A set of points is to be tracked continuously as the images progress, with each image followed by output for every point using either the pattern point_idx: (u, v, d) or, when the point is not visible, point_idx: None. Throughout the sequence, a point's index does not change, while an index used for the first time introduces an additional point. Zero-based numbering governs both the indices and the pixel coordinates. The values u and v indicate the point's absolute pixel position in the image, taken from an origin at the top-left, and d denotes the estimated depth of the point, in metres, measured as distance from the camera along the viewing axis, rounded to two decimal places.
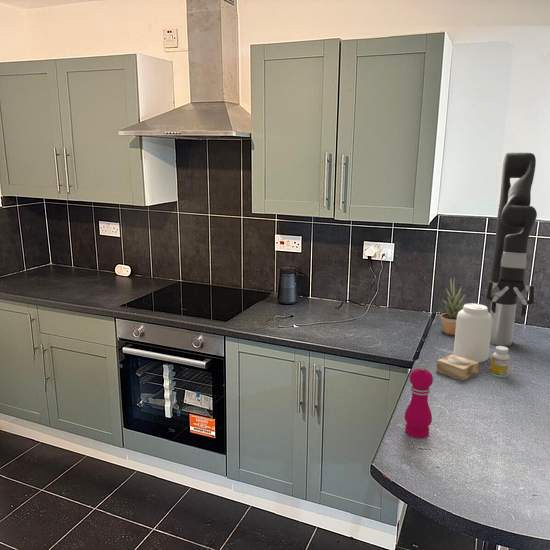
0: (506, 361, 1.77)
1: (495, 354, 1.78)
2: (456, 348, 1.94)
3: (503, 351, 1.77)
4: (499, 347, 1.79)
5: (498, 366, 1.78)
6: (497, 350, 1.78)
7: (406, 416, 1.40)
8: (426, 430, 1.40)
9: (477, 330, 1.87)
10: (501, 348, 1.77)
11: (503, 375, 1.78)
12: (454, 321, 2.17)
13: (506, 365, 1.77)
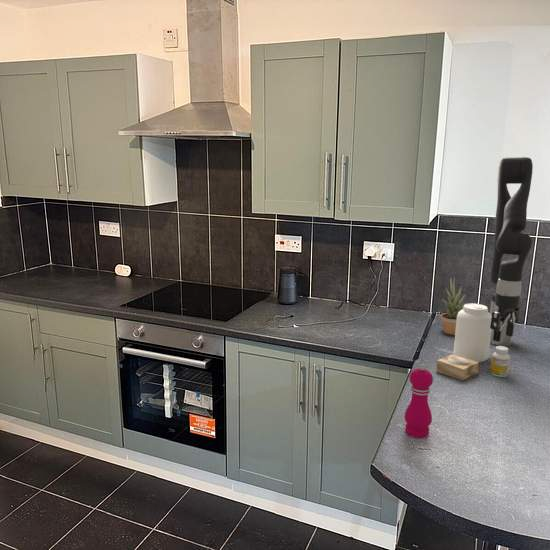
0: (506, 361, 1.77)
1: (495, 354, 1.78)
2: (456, 348, 1.94)
3: (503, 351, 1.77)
4: (499, 347, 1.79)
5: (498, 366, 1.78)
6: (497, 350, 1.78)
7: (406, 416, 1.40)
8: (426, 430, 1.40)
9: (477, 330, 1.87)
10: (501, 348, 1.77)
11: (503, 375, 1.78)
12: (454, 321, 2.17)
13: (506, 365, 1.77)
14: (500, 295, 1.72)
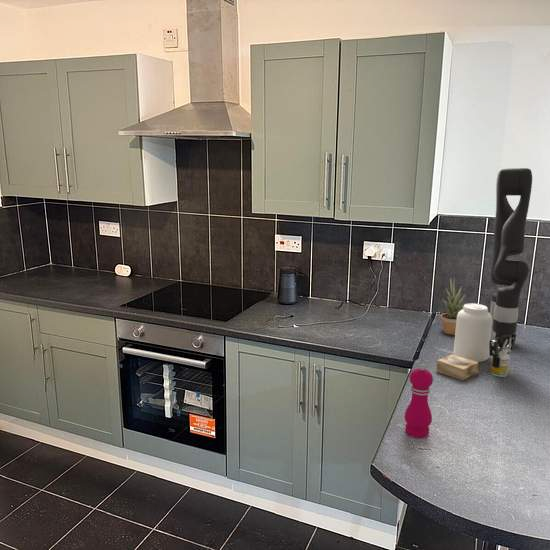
0: (506, 361, 1.77)
1: None
2: (456, 348, 1.94)
3: (503, 351, 1.77)
4: (499, 347, 1.79)
5: None
6: None
7: (406, 416, 1.40)
8: (426, 430, 1.40)
9: (477, 330, 1.87)
10: None
11: (503, 375, 1.78)
12: (454, 321, 2.17)
13: (506, 365, 1.77)
14: (497, 321, 1.74)
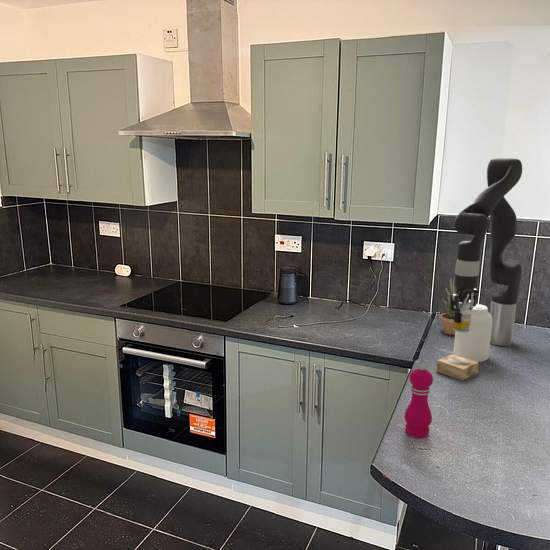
0: (468, 316, 1.75)
1: None
2: (456, 348, 1.94)
3: (465, 306, 1.74)
4: None
5: None
6: None
7: (406, 416, 1.40)
8: (426, 430, 1.40)
9: (477, 330, 1.87)
10: None
11: (465, 330, 1.76)
12: None
13: (468, 320, 1.75)
14: (458, 275, 1.72)
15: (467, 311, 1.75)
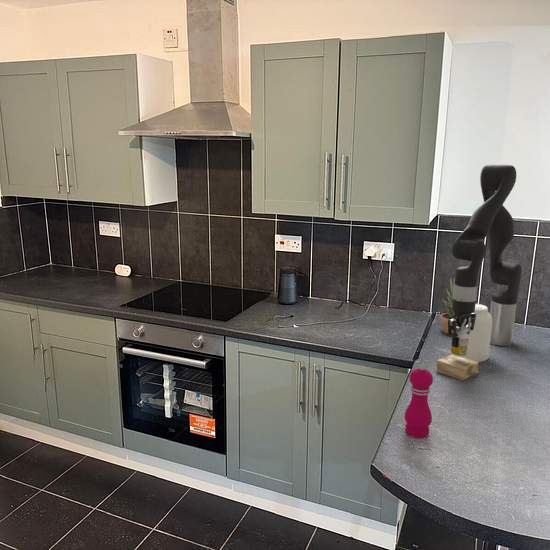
0: (465, 340, 1.77)
1: None
2: None
3: (462, 331, 1.76)
4: None
5: None
6: None
7: (406, 416, 1.40)
8: (426, 430, 1.40)
9: (477, 330, 1.87)
10: None
11: (462, 355, 1.78)
12: None
13: (465, 345, 1.77)
14: (456, 300, 1.74)
15: (464, 335, 1.77)
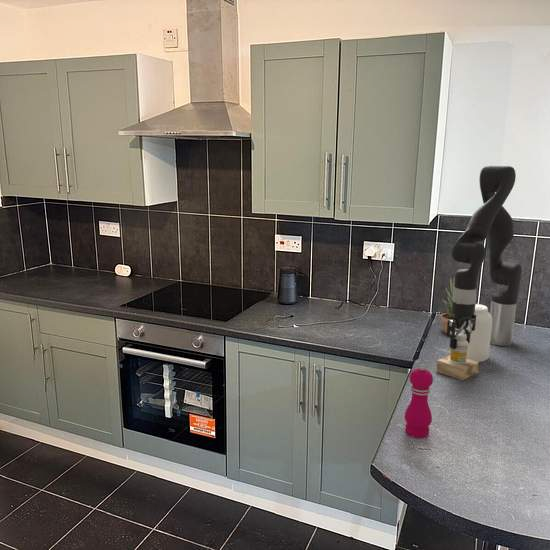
0: (464, 347, 1.77)
1: None
2: None
3: (461, 337, 1.77)
4: None
5: (456, 352, 1.78)
6: None
7: (406, 416, 1.40)
8: (426, 430, 1.40)
9: (477, 330, 1.87)
10: (460, 335, 1.78)
11: (462, 361, 1.78)
12: None
13: (465, 351, 1.78)
14: (455, 303, 1.74)
15: (464, 342, 1.77)
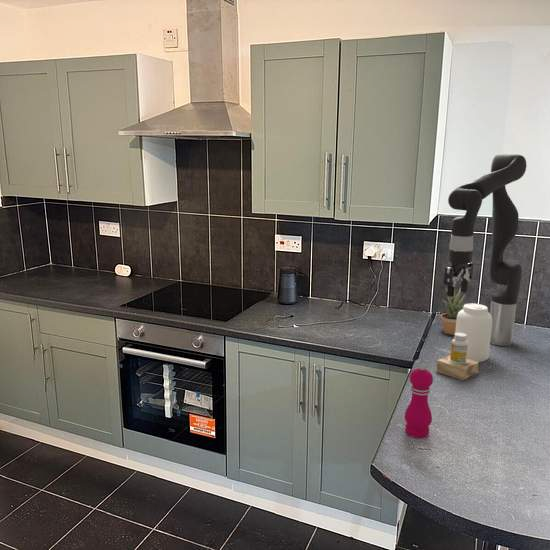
0: (464, 347, 1.77)
1: (454, 341, 1.79)
2: None
3: (461, 337, 1.77)
4: (458, 333, 1.80)
5: (456, 352, 1.78)
6: (456, 336, 1.78)
7: (406, 416, 1.40)
8: (426, 430, 1.40)
9: (477, 330, 1.87)
10: (460, 335, 1.78)
11: (462, 361, 1.78)
12: (454, 321, 2.17)
13: (465, 351, 1.78)
14: (453, 251, 1.75)
15: (464, 342, 1.77)
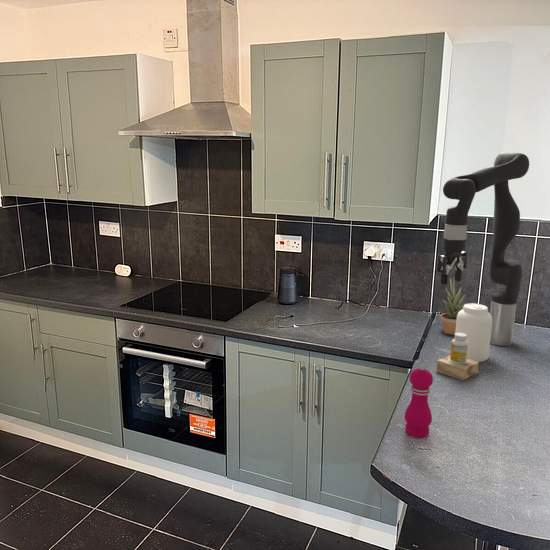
0: (464, 347, 1.77)
1: (454, 341, 1.79)
2: None
3: (461, 337, 1.77)
4: (458, 333, 1.79)
5: (456, 352, 1.78)
6: (456, 336, 1.78)
7: (406, 416, 1.40)
8: (426, 430, 1.40)
9: (477, 330, 1.87)
10: (460, 335, 1.78)
11: (462, 361, 1.78)
12: (454, 321, 2.17)
13: (465, 352, 1.78)
14: (447, 239, 1.78)
15: (464, 342, 1.77)
